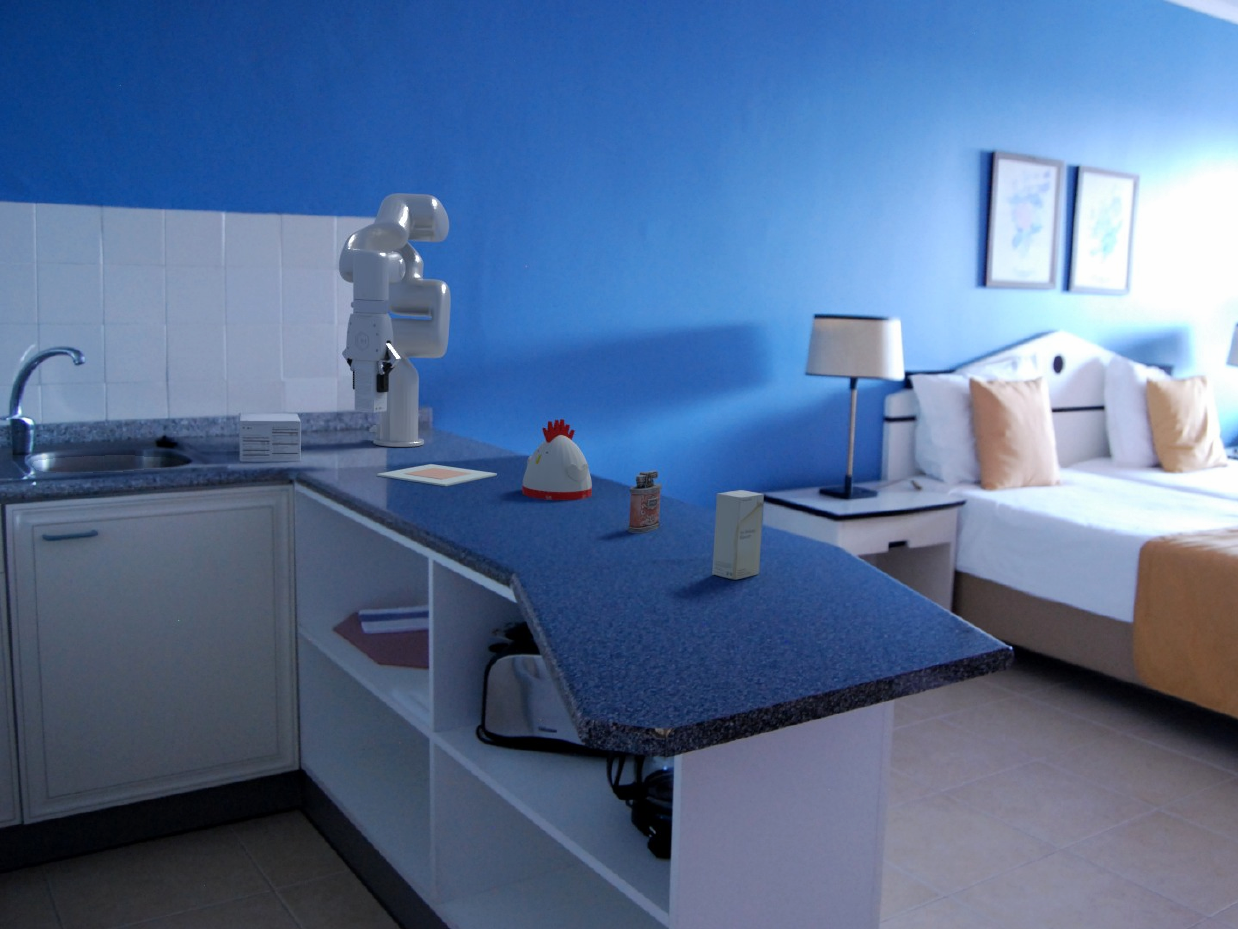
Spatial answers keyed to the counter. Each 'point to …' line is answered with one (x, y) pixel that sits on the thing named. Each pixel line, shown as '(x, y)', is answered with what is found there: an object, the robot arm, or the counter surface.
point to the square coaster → (437, 475)
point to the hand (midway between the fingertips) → (370, 389)
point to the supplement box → (269, 437)
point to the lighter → (645, 503)
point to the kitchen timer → (557, 467)
